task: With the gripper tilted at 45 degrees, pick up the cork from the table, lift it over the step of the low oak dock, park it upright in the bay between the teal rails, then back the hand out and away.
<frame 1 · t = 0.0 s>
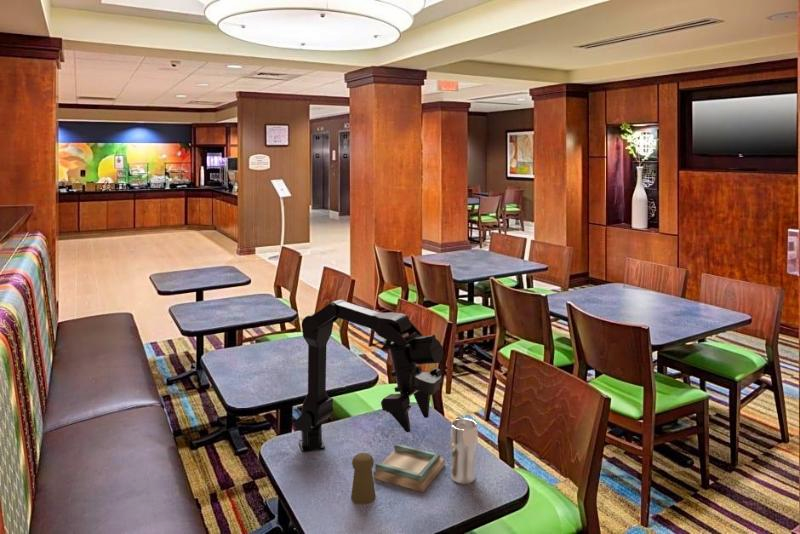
hand: (417, 424, 149), 15 cm above the table, tool pointing down, fingers open, 9 cm apart
silver metal tumbler: (462, 478, 154), on the table
dock: (409, 471, 157), on the table
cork: (363, 497, 145), on the table
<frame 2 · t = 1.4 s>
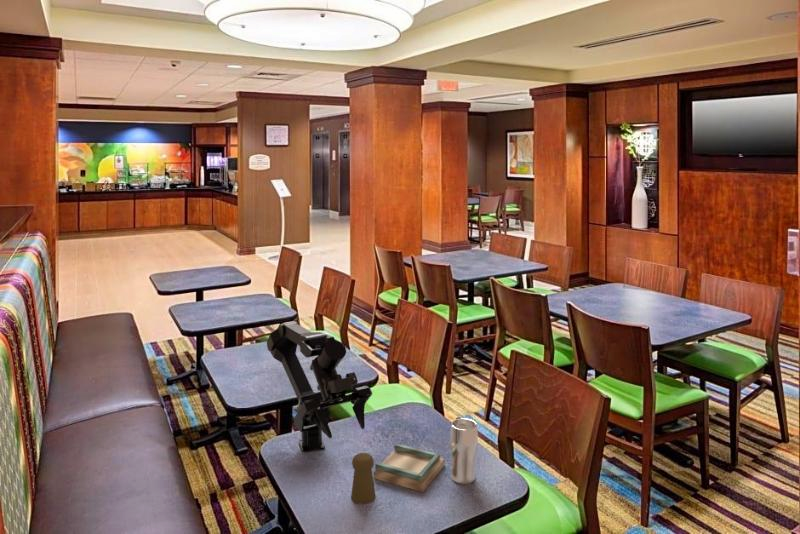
hand: (347, 433, 149), 13 cm above the table, tool tilted 45°, fingers open, 9 cm apart
nothing on the table moved.
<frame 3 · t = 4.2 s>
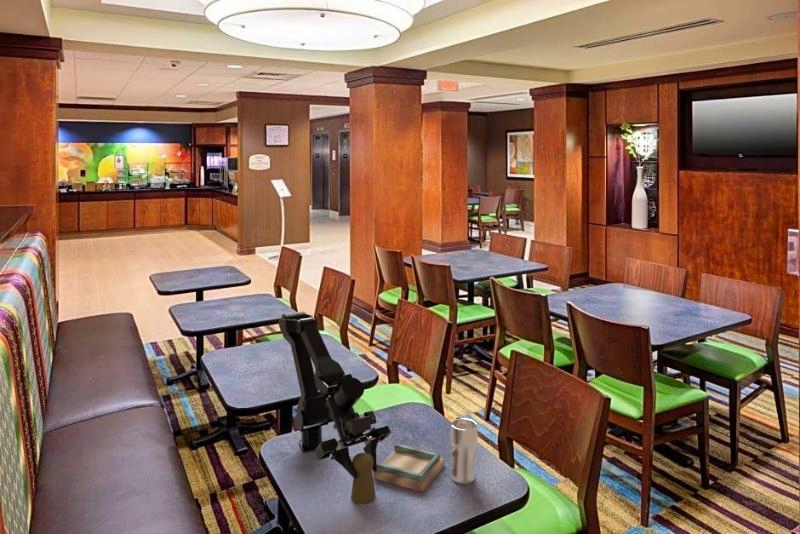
hand: (365, 475, 143), 7 cm above the table, tool tilted 45°, fingers closed on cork, 5 cm apart
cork: (363, 497, 145), on the table, touching gripper
everything else where it was.
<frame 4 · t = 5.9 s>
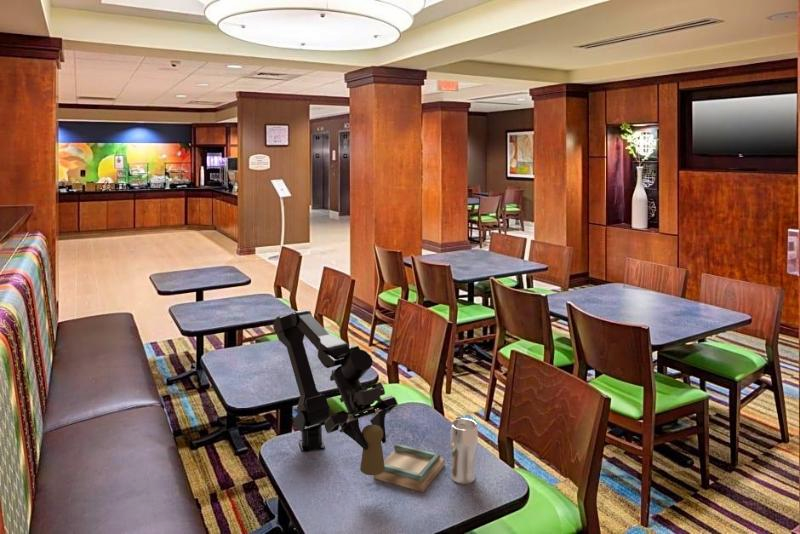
hand: (375, 446, 143), 13 cm above the table, tool tilted 45°, fingers closed on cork, 5 cm apart
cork: (372, 469, 146), point 6 cm above the table, touching gripper
everything else where it was.
when the fingers open (10 cm above the table, at t = 8.0 s): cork drops 1 cm, resting on dock.
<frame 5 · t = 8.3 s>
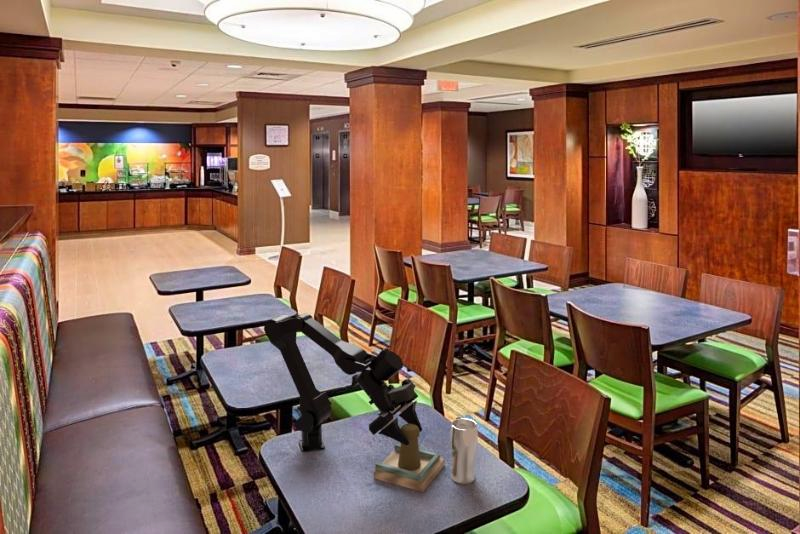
hand: (414, 437, 154), 10 cm above the table, tool tilted 45°, fingers open, 8 cm apart
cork: (409, 465, 156), point 2 cm above the table, touching dock
everything else where it was.
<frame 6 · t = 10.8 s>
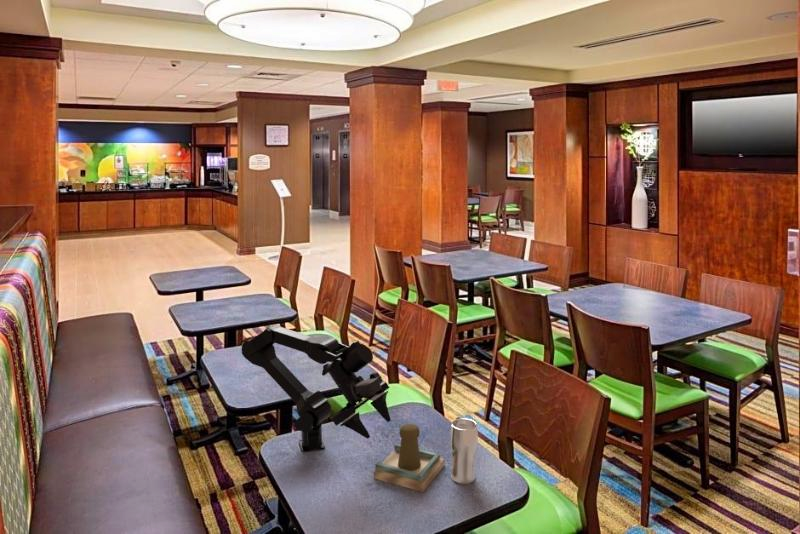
hand: (379, 429, 158), 10 cm above the table, tool tilted 40°, fingers open, 9 cm apart
nothing on the table moved.
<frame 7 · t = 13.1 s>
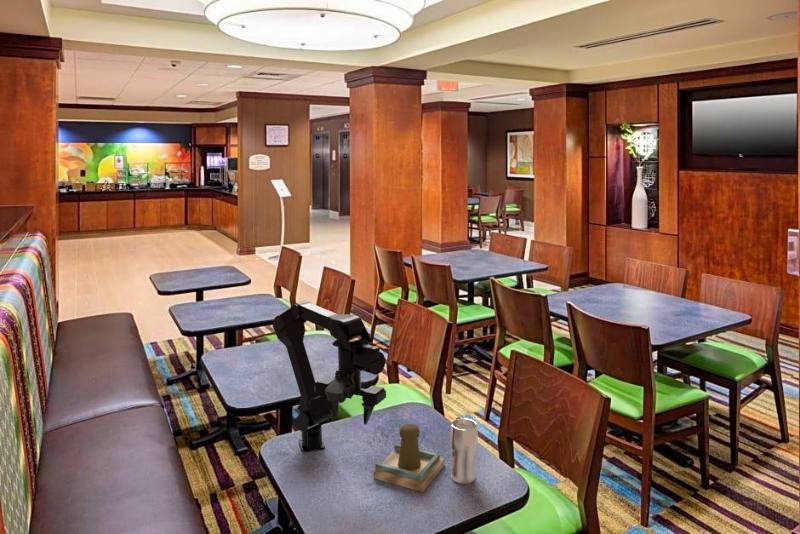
hand: (350, 420, 157), 13 cm above the table, tool pointing down, fingers open, 9 cm apart
nothing on the table moved.
at the end: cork 0.1 cm off-centre on the dock, point 1.8 cm above the dock's base; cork tilted 0°; the gripper is holding nothing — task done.
